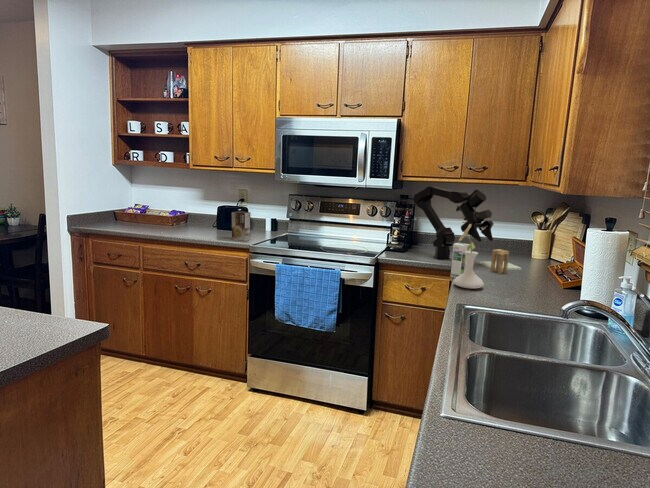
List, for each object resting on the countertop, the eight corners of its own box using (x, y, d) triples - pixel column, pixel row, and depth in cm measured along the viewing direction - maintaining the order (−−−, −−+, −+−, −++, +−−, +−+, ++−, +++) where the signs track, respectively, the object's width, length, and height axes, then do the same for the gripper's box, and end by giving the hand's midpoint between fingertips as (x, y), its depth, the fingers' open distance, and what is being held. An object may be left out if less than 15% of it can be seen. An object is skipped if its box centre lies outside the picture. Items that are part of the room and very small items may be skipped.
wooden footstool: (490, 271, 208) (492, 250, 206) (497, 270, 211) (499, 249, 209) (500, 274, 204) (502, 252, 202) (506, 273, 207) (509, 251, 205)
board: (493, 269, 212) (493, 267, 212) (479, 263, 226) (479, 261, 226) (521, 270, 214) (521, 268, 214) (505, 263, 228) (506, 261, 228)
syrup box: (449, 277, 194) (452, 243, 192) (457, 275, 199) (460, 242, 196) (462, 279, 190) (465, 245, 188) (469, 277, 195) (472, 244, 192)
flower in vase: (461, 281, 187) (467, 220, 183) (488, 287, 179) (495, 224, 175) (445, 287, 178) (451, 222, 173) (472, 293, 170) (479, 226, 166)
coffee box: (250, 239, 267) (251, 212, 265) (244, 241, 262) (245, 213, 259) (237, 238, 271) (237, 211, 268) (231, 239, 265) (231, 211, 262)
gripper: (470, 203, 208) (487, 231, 201) (493, 203, 219) (510, 230, 213) (453, 217, 215) (469, 245, 209) (476, 217, 227) (492, 243, 220)
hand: (486, 240), depth 212 cm, fingers open, 9 cm apart
